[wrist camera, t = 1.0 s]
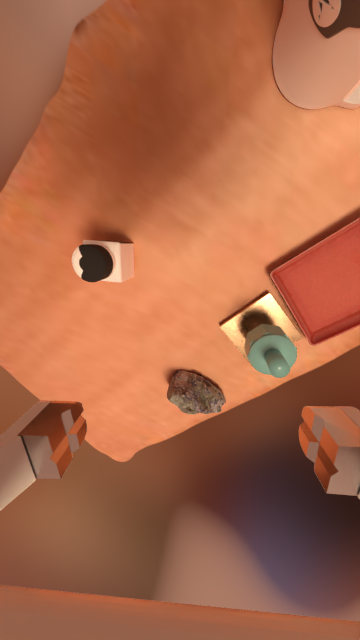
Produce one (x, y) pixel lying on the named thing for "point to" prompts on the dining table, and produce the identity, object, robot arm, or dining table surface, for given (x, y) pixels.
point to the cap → (270, 350)
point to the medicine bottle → (104, 261)
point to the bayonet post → (257, 321)
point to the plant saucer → (324, 285)
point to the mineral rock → (194, 394)
